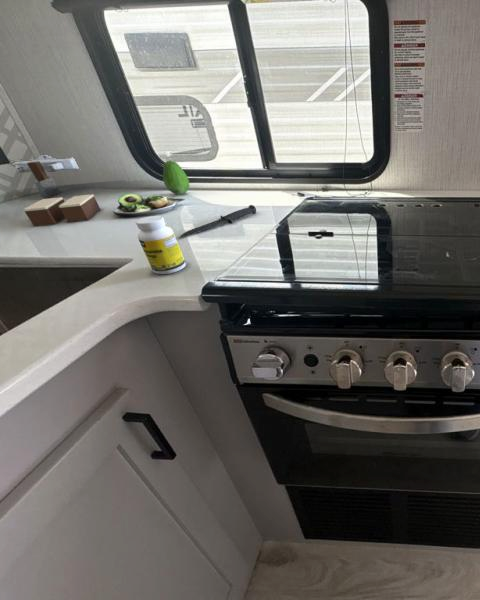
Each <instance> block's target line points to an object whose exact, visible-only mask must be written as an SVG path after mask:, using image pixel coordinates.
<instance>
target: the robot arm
mask: <svg viewBox="0 0 480 600" xmlns="http://www.w3.org/2000/svg"><path fill="white" fill-rule="evenodd" d="M44 156H45V157H46V158H45V157H44ZM31 160H32V161H22V162H15V163H13V165H15V166H16V167H15V169H16V171H17V172H20V173H19V174H22V173H23V174H24V173H32V171H31V169H30V167H29V166H28V164H27V163H29V162H35V161H39V162H40V164H41V165H42V167H43V169H44V171H47V172H56V171H58V170H69V169H79V167H78V165H77V163H76V161H75V159H74V158H73V157H71V158H65V159H56V158H52V157H51V156H48V155H41V156H39V157H38V158H37V159H35V160H33V159H31Z"/></svg>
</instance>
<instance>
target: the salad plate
mask: <svg viewBox="0 0 480 600" xmlns="http://www.w3.org/2000/svg"><path fill="white" fill-rule="evenodd" d="M183 201H186V198H179V197H178V198H177V197H176V198H175V197H171V196H167V195H165V196H163V194H161V195H158V194H153V195H150V196H148V197H146V198H145V197H143V196H142V195H140V194H137V193H133V192H132V193H131V192H130V193H129V192H128V193H124V194H122V195H121V196H119V198H118V199H117V202H118V206H117V207H116V208H115V209H114V210H113V214H114V215H115V216H118V217H119V218H123V219H124V218H136V217H137V218H138V217H147V216H150V215H151V216H153V215H157V214H163V213H167V212H170V211H173V210H174V209H175V208H176V205H177V204H179V203H180V202H183Z"/></svg>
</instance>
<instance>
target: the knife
mask: <svg viewBox="0 0 480 600" xmlns="http://www.w3.org/2000/svg"><path fill="white" fill-rule="evenodd" d="M256 212H257V208H256V207H255V205H253V204H249V205H248V207H244V208H241V209H238V210H235V211H233V212H230V213H228V214H226V215H224V216H223V215H219V216H220V218H218V219H216V220H213V221H210V222H208V223H206V224H203V225H200V226H197V227H195V228H192V229H189V230H187V231H185V232H183V233H182V234H181V235H180V236H179V239H182V238H185V237H188V236H191V235H195V234H198V233H200V232H204V231H206V230H209V229H212V228H214V227H217V226H220V225H223V224H225V223H229V224H233V221H237V220H239V219H242V218H244V217H246V216H249V215H251V214H256Z"/></svg>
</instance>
